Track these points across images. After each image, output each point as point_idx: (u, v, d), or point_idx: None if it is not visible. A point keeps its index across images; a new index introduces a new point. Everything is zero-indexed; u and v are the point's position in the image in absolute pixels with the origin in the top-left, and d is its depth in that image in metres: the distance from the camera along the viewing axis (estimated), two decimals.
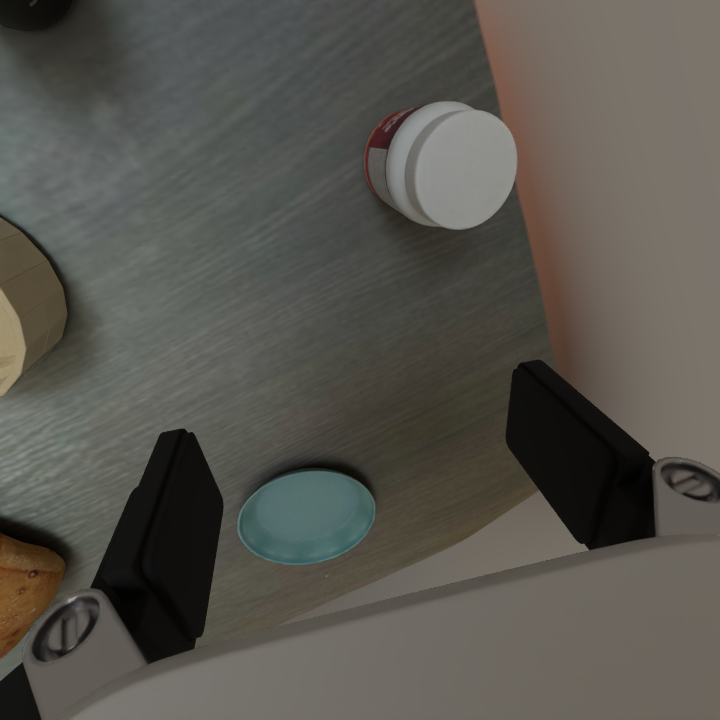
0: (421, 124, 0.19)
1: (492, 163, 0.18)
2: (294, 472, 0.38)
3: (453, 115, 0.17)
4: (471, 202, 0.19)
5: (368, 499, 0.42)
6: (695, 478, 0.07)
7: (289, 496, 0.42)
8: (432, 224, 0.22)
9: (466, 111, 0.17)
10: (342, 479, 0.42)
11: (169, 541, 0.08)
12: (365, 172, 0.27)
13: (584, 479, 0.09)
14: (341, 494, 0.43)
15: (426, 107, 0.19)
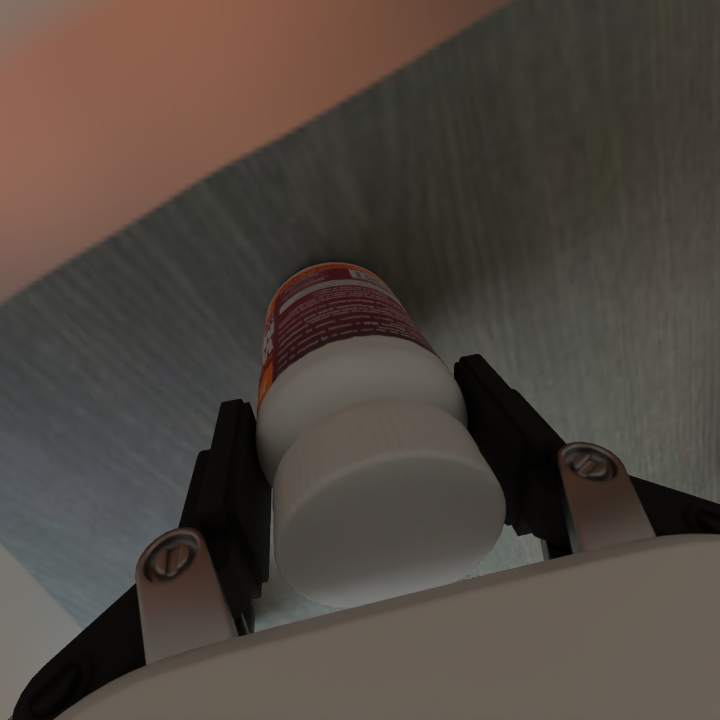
0: None
1: (377, 507, 0.08)
2: None
3: (289, 583, 0.08)
4: (453, 520, 0.08)
5: None
6: (592, 459, 0.08)
7: None
8: None
9: (279, 570, 0.08)
10: None
11: (243, 492, 0.09)
12: None
13: (505, 464, 0.09)
14: None
15: None
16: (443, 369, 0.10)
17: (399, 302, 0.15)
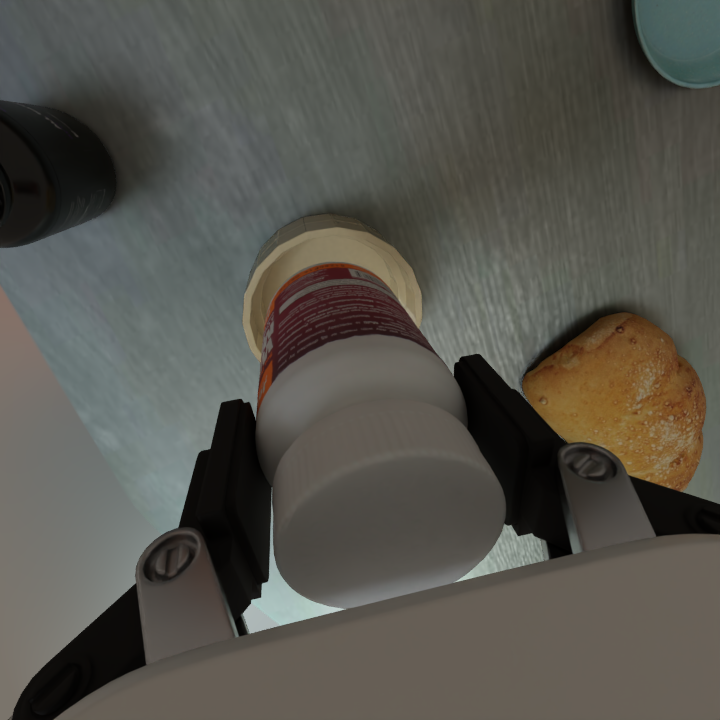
0: None
1: (377, 506, 0.08)
2: None
3: (289, 583, 0.08)
4: (453, 520, 0.08)
5: None
6: (591, 459, 0.08)
7: None
8: None
9: (279, 569, 0.08)
10: None
11: (244, 492, 0.09)
12: None
13: (505, 464, 0.09)
14: None
15: None
16: (443, 368, 0.10)
17: (399, 301, 0.15)
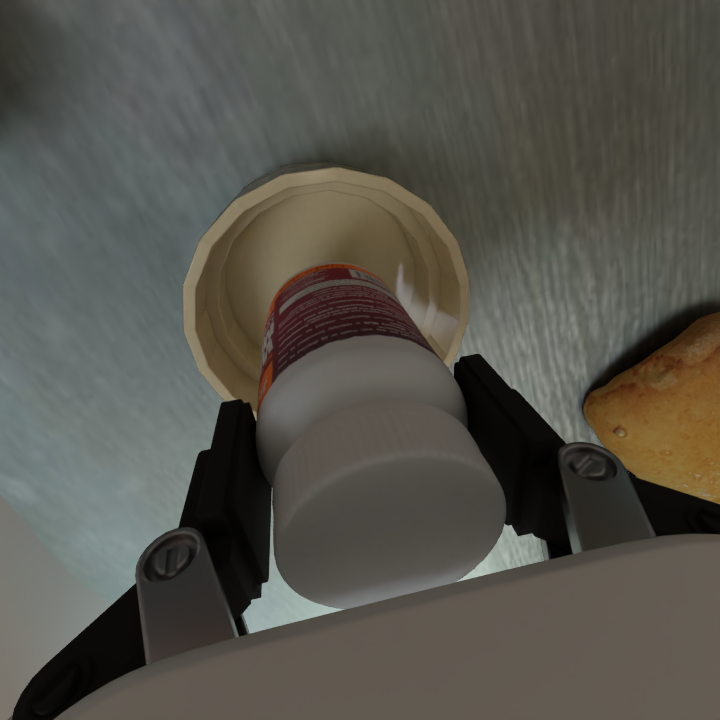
0: None
1: (377, 508, 0.08)
2: None
3: (289, 584, 0.08)
4: (453, 520, 0.08)
5: None
6: (591, 459, 0.08)
7: None
8: None
9: (279, 570, 0.08)
10: None
11: (244, 492, 0.09)
12: None
13: (505, 464, 0.09)
14: None
15: None
16: (443, 369, 0.10)
17: (399, 302, 0.15)
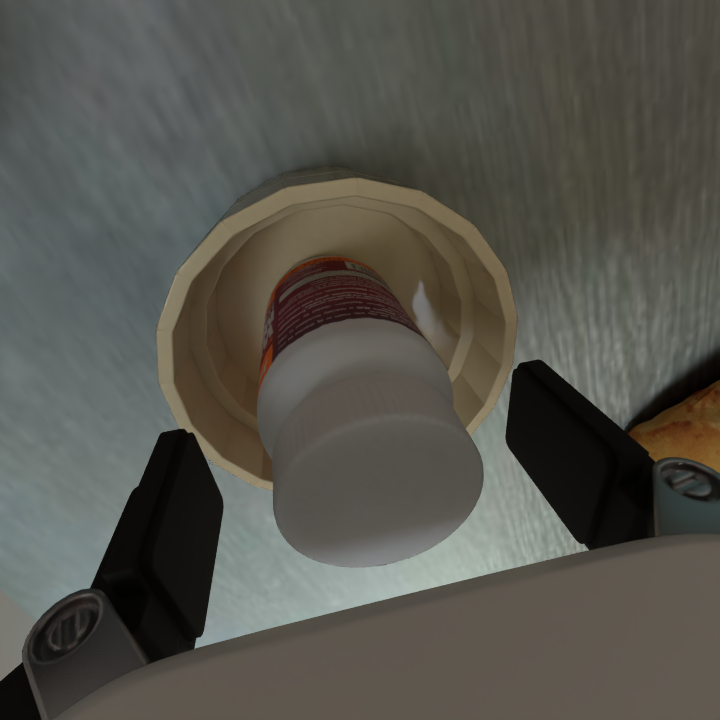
0: None
1: (366, 467, 0.08)
2: None
3: (287, 540, 0.09)
4: (435, 482, 0.09)
5: None
6: (695, 478, 0.07)
7: None
8: None
9: (278, 525, 0.09)
10: None
11: (169, 541, 0.08)
12: None
13: (584, 479, 0.09)
14: None
15: None
16: (429, 349, 0.11)
17: (392, 292, 0.16)
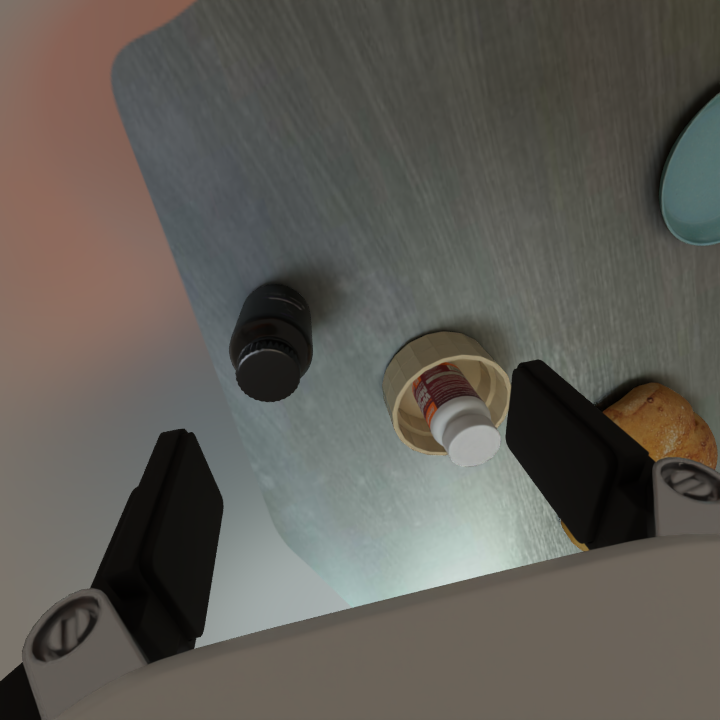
0: (443, 443, 0.38)
1: (472, 437, 0.35)
2: (662, 178, 0.36)
3: None
4: (488, 441, 0.36)
5: None
6: (695, 478, 0.07)
7: (692, 185, 0.38)
8: None
9: (448, 452, 0.36)
10: (703, 115, 0.35)
11: (169, 541, 0.08)
12: None
13: (584, 479, 0.09)
14: None
15: (434, 437, 0.39)
16: (484, 404, 0.37)
17: (464, 376, 0.43)
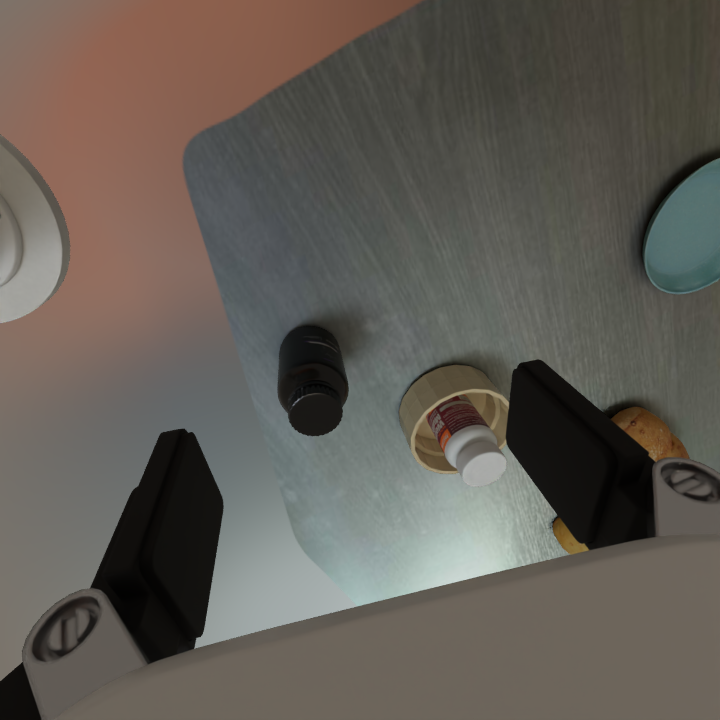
0: (455, 466, 0.44)
1: (483, 462, 0.40)
2: (645, 240, 0.42)
3: (462, 478, 0.41)
4: (496, 465, 0.41)
5: None
6: (695, 478, 0.07)
7: (670, 243, 0.44)
8: None
9: (462, 475, 0.41)
10: (680, 187, 0.41)
11: (169, 541, 0.08)
12: None
13: (584, 479, 0.09)
14: (698, 189, 0.42)
15: (447, 460, 0.44)
16: (492, 432, 0.43)
17: None
